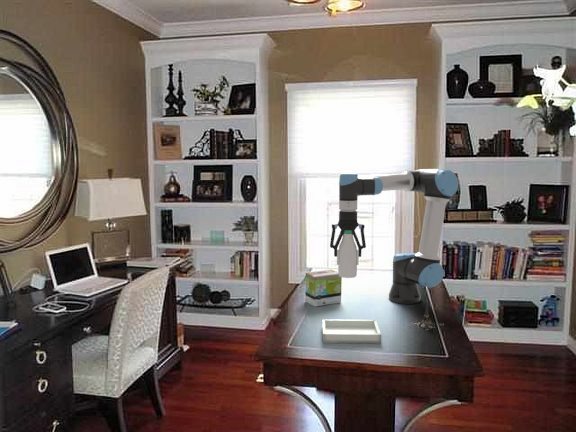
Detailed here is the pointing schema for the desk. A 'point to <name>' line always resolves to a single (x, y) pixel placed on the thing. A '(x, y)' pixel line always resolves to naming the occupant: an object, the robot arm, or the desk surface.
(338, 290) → the tea box
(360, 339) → the tray
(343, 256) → the milk bottle
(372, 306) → the desk surface
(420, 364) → the desk surface
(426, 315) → the eiffel tower figurine
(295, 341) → the desk surface
